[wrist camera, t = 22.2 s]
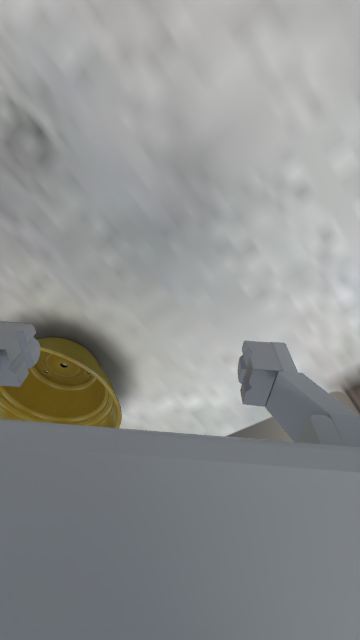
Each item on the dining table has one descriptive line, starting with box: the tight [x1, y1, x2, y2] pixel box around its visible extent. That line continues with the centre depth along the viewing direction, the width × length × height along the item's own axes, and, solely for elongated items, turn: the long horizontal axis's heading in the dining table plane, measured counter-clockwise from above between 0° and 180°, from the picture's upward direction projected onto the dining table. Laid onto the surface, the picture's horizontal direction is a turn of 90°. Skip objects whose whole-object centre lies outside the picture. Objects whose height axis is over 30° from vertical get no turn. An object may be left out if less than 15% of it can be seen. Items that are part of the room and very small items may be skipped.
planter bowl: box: [0, 337, 122, 428], centre depth 60 cm, size 32×32×13 cm
